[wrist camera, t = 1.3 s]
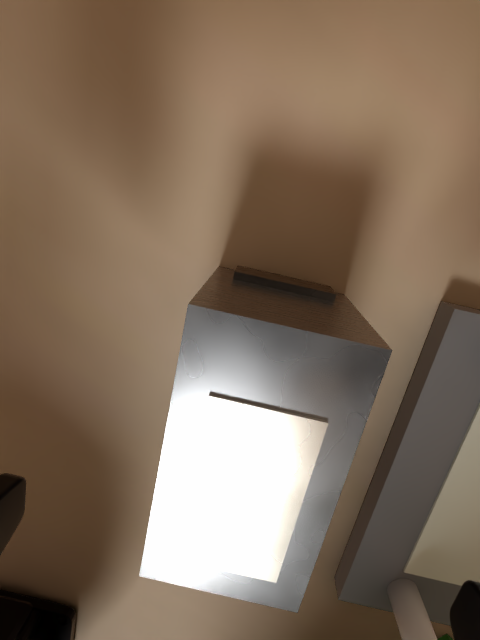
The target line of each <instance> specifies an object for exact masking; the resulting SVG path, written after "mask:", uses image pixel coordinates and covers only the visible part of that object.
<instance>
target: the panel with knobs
mask: <svg viewBox="0 0 480 640" xmlns="http://www.w3.org/2000/svg"><path fill="white" fill-rule="evenodd" d="M334 578H335V584H336V590H337V595H338V600H342V601H346V602H350V603H355V604H359V605H363V606H367V607H372V608H376V609H380V610H385V611H389V612H393V613H394V615H395V619H396V622H397V625H398V628H399V632H400V635H401V638H402V640H437V637H436V635H435V632H434V629H433V627H432V624H431V622H430V621H432V622H436V623H440V624H445V625H449V626H451V624H450V608H451V605H452V604H453V602H454V600H455V598H456V596H457V594H458V592H459V590H460V588H461V586H462V584H463V583H464V582H465V581H467V580H472V581H476V582H480V310H478V309H473V308H469V307H464V306H460V305H455V304H451V303H447V302H442V301H441V303H440V306H439V308H438V311H437V313H436V316H435V319H434V321H433V324H432V326H431V329H430V331H429V334H428V337H427V339H426V342H425V344H424V347H423V350H422V352H421V355H420V357H419V360H418V362H417V365H416V368H415V370H414V373H413V375H412V378H411V381H410V383H409V386H408V388H407V391H406V394H405V396H404V399H403V401H402V404H401V406H400V409H399V412H398V414H397V417H396V419H395V422H394V425H393V427H392V430H391V432H390V435H389V437H388V440H387V443H386V445H385V448H384V450H383V453H382V456H381V458H380V461H379V463H378V466H377V468H376V471H375V474H374V476H373V479H372V481H371V484H370V487H369V489H368V492H367V494H366V497H365V500H364V502H363V505H362V507H361V510H360V512H359V515H358V518H357V520H356V523H355V525H354V528H353V531H352V533H351V536H350V538H349V541H348V543H347V546H346V549H345V551H344V554H343V556H342V559H341V562H340V564H339V567H338V569H337V572H336V574H335V577H334Z"/></svg>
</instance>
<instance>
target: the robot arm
mask: <svg viewBox="0 0 480 640" xmlns="http://www.w3.org/2000/svg"><path fill="white" fill-rule="evenodd" d="M25 495H26V480H25V478H23V477H21V476H17V475H13V474H8V473H4V474H1V475H0V555H1V553H2V552H3V550H4V548H5V547H6V545H7V543H8V542H9V540H10V538H11V537H12V535H13V533H14V531H15V530H16V528H17V526H18V525H19V523H20V521H21V519H22V517H23V514H24V510H25ZM75 621H76V612H75V610H74V609H73V608H71V607H69V606H67V605H62V604H58V603H54V602H50V601H45V600H41V599H37V598H33V597H28V596H24V595H20V594H15V593H11V592H7V591H3V590H0V640H73V638H74V630H75ZM450 624H451V628H452V632H453V636H454V640H480V582H476V581H472V580H467V581H465V582H464V583H463V584H462V586H461V588H460V590H459V592H458V594H457V596H456V598H455V600H454V602H453V604H452V605H451V608H450Z"/></svg>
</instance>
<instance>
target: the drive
mask: <svg viewBox="0 0 480 640" xmlns="http://www.w3.org/2000/svg"><path fill="white" fill-rule="evenodd" d="M391 352H392V349H391V348H390V347H389V346H388V345H387V344H386V342H385V341H384V340H383V339H382V338H381V337H380V336H379V334H378V333H377V332H376V331H375V330H374V329H373V327H372V326H371V325H370V324H369V323H368V322H367V320H366V319H365V318H364V317H363V316H362V315H361V313H360V312H359V311H358V310H357V309H356V308H355V306H354V305H353V304H352V303H351V302H350V301H349V300H348V298H347V297H346V296H345V295H344V294H339V293H335V292H334V291H333V289H332V288H331V287H330V286H326V285H321V284H317V283H313V282H308V281H304V280H299V279H295V278H291V277H286V276H282V275H277V274H273V273H269V272H264V271H260V270H255V269H251V268H246V267H242V266H237V268H236V270H233V269H229V268H225V267H220V266H219V267H218V268H217V270H216V271H215V272H214V273H213V274H212V276H211V277H210V278H209V279H208V281H207V282H206V283H205V284H204V285H203V287H202V288H201V289H200V290H199V291H198V293H197V294H196V295H195V296H194V298H193V299H192V300H191V301H190V302H189V304H188V308H187V314H186V319H185V325H184V330H183V336H182V341H181V347H180V353H179V358H178V364H177V369H176V375H175V380H174V386H173V391H172V397H171V403H170V408H169V414H168V419H167V425H166V430H165V436H164V441H163V447H162V453H161V458H160V464H159V469H158V475H157V480H156V486H155V491H154V497H153V503H152V508H151V514H150V519H149V525H148V530H147V536H146V541H145V547H144V553H143V558H142V564H141V569H140V575H139V576H141V577H145V578H150V579H154V580H158V581H163V582H167V583H171V584H176V585H180V586H184V587H189V588H193V589H197V590H201V591H206V592H210V593H214V594H219V595H223V596H227V597H232V598H236V599H240V600H244V601H249V602H253V603H257V604H262V605H266V606H270V607H275V608H279V609H283V610H287V611H292V612H296V613H298V610H299V607H300V604H301V602H302V599H303V596H304V593H305V590H306V588H307V585H308V582H309V579H310V577H311V574H312V571H313V568H314V566H315V563H316V560H317V557H318V554H319V552H320V549H321V546H322V543H323V541H324V538H325V535H326V532H327V530H328V527H329V524H330V521H331V518H332V516H333V513H334V510H335V507H336V505H337V502H338V499H339V496H340V494H341V491H342V488H343V485H344V483H345V480H346V477H347V474H348V471H349V469H350V466H351V463H352V460H353V458H354V455H355V452H356V449H357V447H358V444H359V441H360V438H361V435H362V433H363V430H364V427H365V424H366V422H367V419H368V416H369V413H370V411H371V408H372V405H373V402H374V400H375V397H376V394H377V391H378V388H379V386H380V383H381V380H382V377H383V375H384V372H385V369H386V366H387V364H388V361H389V358H390V355H391Z"/></svg>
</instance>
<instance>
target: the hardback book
mask: <svg viewBox="0 0 480 640" xmlns="http://www.w3.org/2000/svg"><path fill="white" fill-rule="evenodd" d="M437 640H453V639H452V638H451V637H450V636H449V635H448V634H445V635H444V636H442V637H440V638H438V639H437Z"/></svg>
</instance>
